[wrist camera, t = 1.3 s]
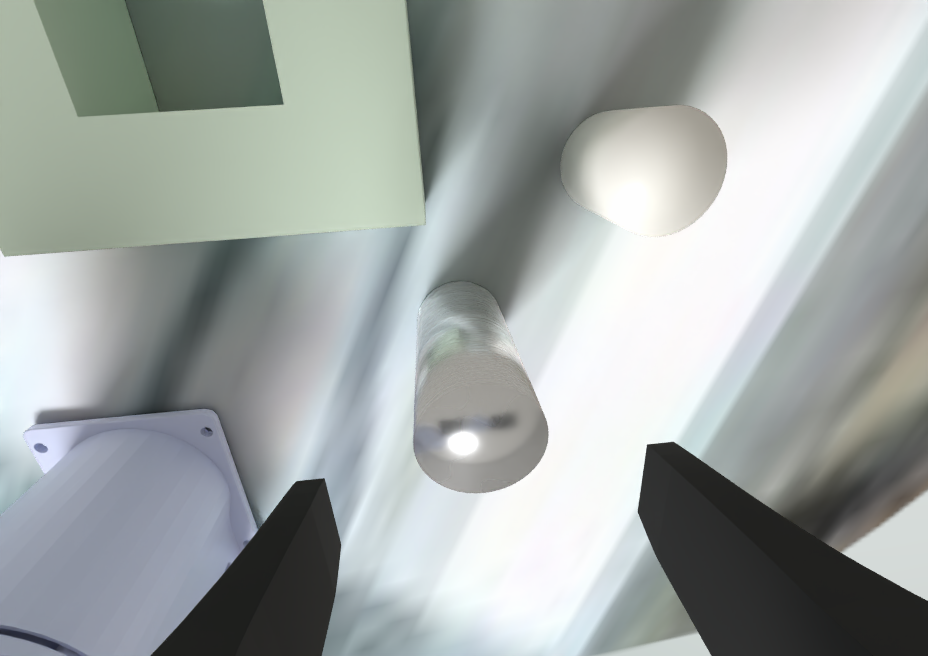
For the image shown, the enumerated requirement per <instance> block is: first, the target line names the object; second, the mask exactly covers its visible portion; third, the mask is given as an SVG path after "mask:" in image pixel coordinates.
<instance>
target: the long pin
mask: <svg viewBox="0 0 928 656" xmlns="http://www.w3.org/2000/svg"><path fill="white" fill-rule="evenodd" d="M547 443H548V425H547V421H546V418H545V416H544V413H543V411H542V409H541V406H540V404H539V401H538V399H537V397H536V394H535V392H534V389H533V387H532V385H531V382H530V380H529V377H528V375H527V373H526V370H525V368H524V365H523V363H522V361H521V358H520V356H519V353H518V351H517V349H516V346H515V344H514V341H513V339H512V337H511V334H510V332H509V329H508V327H507V325H506V322H505V320H504V317H503V315H502V313H501V310H500V308H499V305H498V303H497V301H496V300H495V298H494V297H493V295H492V294H491V293H490V292H489V291H487V290H486V289H485V288H483V287H481V286H479V285H477V284H474V283H471V282H465V281H456V282H450V283H446V284H444V285H441V286H439V287H438V288H436V289H434V290H433V291H432V292H431V293H430V294H429V295H428V296H427V297H426V298H425V299H424V301H423V303H422V304H421V306H420V309H419V312H418V319H417V346H416V375H415V405H414V435H413V446H414V453H415V456H416V459H417V461H418V463H419V465H420V467H421V468H422V470H423V471H424V472H425V473H426V474H427V475H428V476H429V477H430V478H431V479H432V480H434V481H435V482H437V483H438V484H440V485H442V486H444V487H446V488H449V489H451V490H455V491H459V492H465V493H486V492H492V491H496V490H500V489H503V488H506V487H508V486H510V485H512V484H514V483H516V482H518V481H520V480H521V479H523V478H524V477H525V476H527V475H528V474H529V473H530V472H531V471H532V470H533V469H534V468H535V467H536V466H537V464H538V463H539V462H540V460H541V458H542V457H543V455H544V452H545V450H546V447H547Z"/></svg>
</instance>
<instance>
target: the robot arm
mask: <svg viewBox="0 0 928 656" xmlns="http://www.w3.org/2000/svg"><path fill="white" fill-rule="evenodd" d="M204 427H207V428H210V429H211V430H212V431H208V430H206V429H205V428H204ZM23 437H24V440H25V442H26V443H27V445H28V447H29V448H30V450H31V452H32V453H33V455H34V457H35V458H36V460H37V462H38V464H39V465H40V467H41V469H42V470H43V472H44V474H45V475H44V476H42V477H41V478H40V479H39V480H38V481H37V482H36V483H35V484H34V485H33V486H32V487H30V488H29V489H28V490H27V491H26V492H25V493H24V494H23V495H22V496H21V497H20V498H18V499H17V500H16V501H15V502H14V503H13V504H12V505H11V506H10V507H9V508H8V509H6V510H5V511H4V512H3V513H2V514H1V515H0V656H322V652H323V647H324V643H325V639H326V634H327V630H328V625H329V621H330V616H331V612H332V608H333V603H334V598H335V593H336V585H337V578H338V569H339V560H340V551H341V542H340V538H339V534H338V530H337V526H336V522H335V518H334V514H333V510H332V506H331V502H330V498H329V494H328V490H327V486H326V482H325V478H323V479H313V480H304V481H296V482H295V483H294V484H293V485H292V487H291V488H290V489H289V491H288V492H287V493H286V494H285V496H284V497H283V498H282V500H281V501H280V502H279V504H278V505H277V506H276V508H275V509H274V510H273V512H272V513H271V514H270V516H269V517H268V518H267V519H266V521H265V522H264V523H263V525H262V526H261V527H260V528H259V530H258V529H257V526H256V523H255V520H254V517H253V515H252V512H251V509H250V506H249V503H248V500H247V498H246V495H245V492H244V489H243V486H242V483H241V481H240V478H239V475H238V472H237V469H236V466H235V463H234V461H233V458H232V455H231V452H230V449H229V446H228V444H227V441H226V438H225V435H224V432H223V429H222V427H221V424H220V421H219V418H218V416H217V414H216V413H215V412H213V411H212V410H209V409H196V410H185V411H174V412H164V413H153V414H142V415H131V416H121V417H110V418H99V419H89V420H78V421H67V422H57V423H46V424H36V425H33V426H31V427H30V428H29V429H27V430H26V431H25V432H24V434H23ZM43 444H44V445H43ZM638 514H639V516H640V519H641V521H642V524H643V526H644V529H645V531H646V534H647V536H648V538H649V541H650V543H651V545H652V548H653V550H654V552H655V555H656V557H657V559H658V561H659V562H660V564H661V566H662V568H663V570H664V572H665V573H666V575H667V577H668V579H669V581H670V582H671V584H672V586H673V588H674V590H675V592H676V593H677V595H678V597H679V599H680V600H681V602H682V604H683V606H684V608H685V609H686V611H687V613H688V615H689V617H690V618H691V620H692V622H693V624H694V625H695V627H696V629H697V631H698V633H699V634H700V636H701V638H702V640H703V641H704V643H705V645H706V647H707V649H708V650H709V652H710V654H711V655H712V656H928V601H927V600H925V599H923V598H921V597H919V596H917V595H915V594H913V593H911V592H910V591H908V590H906V589H904V588H902V587H900V586H899V585H897V584H895V583H893V582H892V581H890V580H888V579H886V578H884V577H882V576H881V575H879V574H877V573H875V572H873V571H872V570H870V569H868V568H866V567H864V566H863V565H861V564H859V563H857V562H856V561H854V560H852V559H851V558H849V557H847V556H845V555H844V554H842V553H840V552H839V551H837V550H835V549H834V548H832V547H830V546H829V545H827V544H826V543H824V542H822V541H821V540H819V539H817V538H816V537H814V536H813V535H811V534H809V533H808V532H806V531H805V530H803V529H801V528H800V527H798V526H797V525H795V524H793V523H792V522H790V521H789V520H787V519H786V518H784V517H783V516H781V515H780V514H778V513H777V512H775V511H774V510H772V509H771V508H769V507H768V506H766V505H765V504H763V503H762V502H760V501H759V500H757V499H756V498H754V497H753V496H751V495H750V494H748V493H747V492H745V491H744V490H743V489H741V488H740V487H738V486H737V485H735V484H734V483H732V482H731V481H730V480H728V479H727V478H725V477H724V476H722V475H721V474H720V473H718V472H717V471H715V470H714V469H712V468H711V467H710V466H708V465H707V464H705V463H704V462H702V461H701V460H700V459H698V458H697V457H695V456H694V455H692V454H691V453H689V452H688V451H687V450H685V449H684V448H682V447H681V446H679V445H678V444H676V443H674V442H668V443H658V444H649V445H647V449H646V456H645V464H644V471H643V478H642V485H641V492H640V499H639V506H638ZM249 540H250V541H249Z"/></svg>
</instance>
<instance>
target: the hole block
mask: <svg viewBox="0 0 928 656" xmlns="http://www.w3.org/2000/svg"><path fill="white" fill-rule="evenodd" d="M263 5H264V10H265V15H266V20H267V25H268V29H269V34H270V39H271V44H272V49H273V54H274V59H275V64H276V69H277V74H278V78H279V83H280V88H281V93H282V98H283V103H284V105H268V106H252V107H235V108H218V109H202V110H185V111H169V112H159V109H158V106H157V103H156V99H155V96H154V93H153V90H152V86H151V83H150V80H149V77H148V74H147V70H146V67H145V64H144V61H143V57H142V54H141V51H140V48H139V45H138V41H137V38H136V35H135V32H134V29H133V25H132V22H131V19H130V16H129V12H128V9H127V6H126V3H125V0H0V249H1V251H2V253H3V255H4V257H5V256H18V255H32V254H45V253H58V252H72V251H85V250H98V249H112V248H125V247H138V246H152V245H165V244H178V243H192V242H205V241H218V240H231V239H245V238H258V237H271V236H285V235H298V234H311V233H325V232H338V231H351V230H365V229H378V228H391V227H405V226H418V225H426V222H425V196H424V185H423V174H422V163H421V152H420V142H419V131H418V120H417V109H416V98H415V87H414V77H413V66H412V55H411V44H410V33H409V22H408V12H407V1H406V0H263Z"/></svg>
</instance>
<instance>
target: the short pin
mask: <svg viewBox="0 0 928 656" xmlns="http://www.w3.org/2000/svg"><path fill="white" fill-rule="evenodd" d="M726 167H727V149H726V143H725V140H724V137H723V134H722V132H721V130H720V128H719V127H718V125H717V124H716V122H715V121H714V120H713V119H712V118H711V117H710V116H708V115H707V114H706V113H704V112H703V111H701V110H699V109H697V108H694V107H691V106H685V105H669V106H657V107H645V108H633V109H621V110H610V111H604V112H600V113H597V114H595V115H593V116H591V117H589V118H587V119H586V120H585V121H583V122H582V123H581V124H580V125H579V126H578V127H577V128H576V129H575V130H574V131H573V133H572V134H571V135H570V137H569V139H568V140H567V142H566V145H565V147H564V150H563V153H562V157H561V165H560V171H561V179H562V182H563V186H564V188H565V190H566V192H567V193H568V195H569V196H570V198H571V199H572V200H573V201H574V202H575V203H577V204H578V205H580V206H581V207H583V208H585V209H587V210H589V211H591V212H593V213H595V214H597V215H599V216H601V217H603V218H605V219H606V220H608V221H610V222H612V223H614V224H616V225H618V226H620V227H622V228H624V229H626V230H628V231H630V232H632V233H634V234H637V235H640V236H645V237H662V236H667V235H671V234H674V233H676V232H679V231H681V230H683V229H685V228H687V227H688V226H690V225H691V224H693V223H694V222H695V221H697V220H698V219H699V218H700V217H701V216H702V215H703V214H704V213H705V212H706V211H707V210H708V208H709V207H710V206H711V204H712V203H713V202H714V200H715V198H716V197H717V195H718V193H719V191H720V189H721V186H722V184H723V181H724V177H725V173H726Z"/></svg>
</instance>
